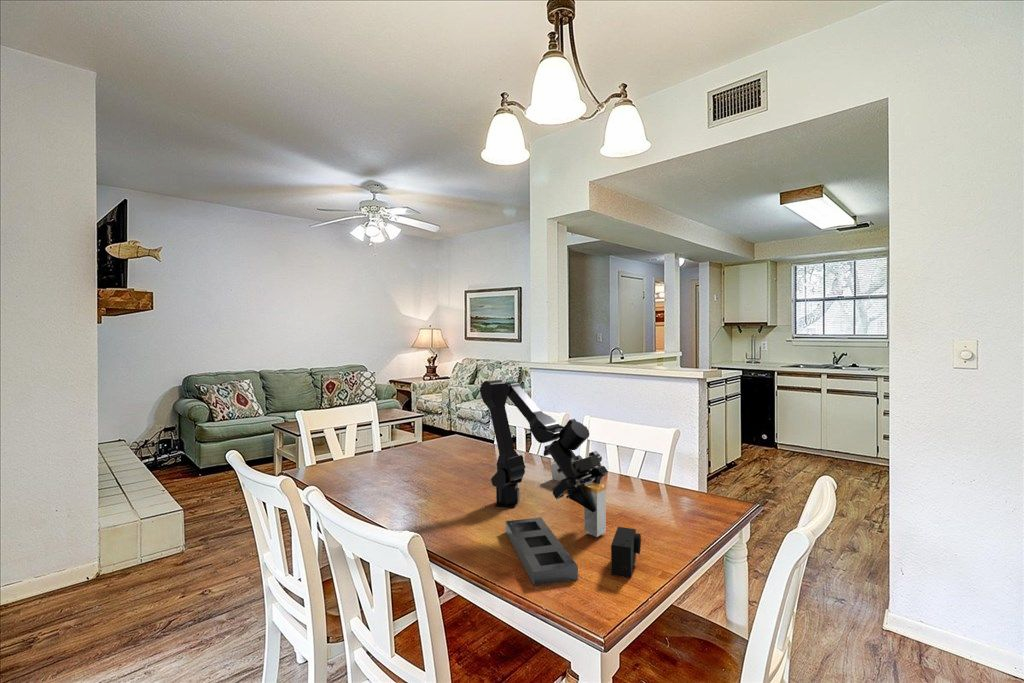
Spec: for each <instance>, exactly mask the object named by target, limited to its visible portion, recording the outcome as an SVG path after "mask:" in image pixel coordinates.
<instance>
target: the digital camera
mask: <svg viewBox="0 0 1024 683" xmlns="http://www.w3.org/2000/svg"><path fill="white" fill-rule="evenodd" d="M636 532H637V530H636V528H631V527H630V528H629V527H623V526H617V529H616V531H615V534H614V536H613V539H612V542H611V544H610V556H611V557H610V558H611V559H610V560H611V561H610V562H611V567H610V569H611V570H610V571H611V572H610V573H611V576H616V577H621V578H626V579H631V578H632V576H633V571H634V568H635V563H636V558H637V554H639V555H640V554H641V549H642V548H641V547H642V535H641V534H642V533H636Z"/></svg>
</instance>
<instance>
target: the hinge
mask: <svg viewBox="0 0 1024 683" xmlns="http://www.w3.org/2000/svg"><path fill="white" fill-rule="evenodd" d="M558 469H559V467H558V465H557V464H556V462H555V461H554V460H553V461H552V463H551V465H550V470H551V479H554V480H553V481H556V480H558V481H557V482H560V481H561V480H562V479H565V478H566V477H565V476H564V474H563V473H562V472H561V473H558V471H557V470H558ZM591 470H592V469H591ZM588 473H589V472H588ZM588 473H587V474H588Z"/></svg>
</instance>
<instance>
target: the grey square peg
mask: <svg viewBox="0 0 1024 683" xmlns="http://www.w3.org/2000/svg"><path fill="white" fill-rule="evenodd" d="M585 491H586V493H587V495H588V497H589V498H590V500H591V502H592V503H593V505H594V507H595V509H596V511H595V512H591V511H590V510H588V509H587V508H585V507H583V508H584V512H583V513H584V516H583V517H584V519H583V520H584V522H583V523H584V533H585V534H588V535H591V536H593V537H594V538H595V537H596V538H598V537H600V536H602V535H603V534H606V532H607V530H606V529H607V522H606V521H607V518H606V516H607V513H606V512H607V510H606V509H607V508H606V504H607V501H606V498H607V496H606V495H607V493H606V485H604V484H601V483H600V484H597V483H594V482H593V483H590V484H588V485H585Z"/></svg>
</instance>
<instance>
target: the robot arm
mask: <svg viewBox="0 0 1024 683" xmlns="http://www.w3.org/2000/svg"><path fill="white" fill-rule="evenodd" d="M479 392H480V395H481V399H482V401H483V404H484V405H485V406H487V408H488V409H489V412H490V417H491V422H492V426H493V432H494V436H495V441H496V445H497V450H498V457H497V461H496V472H495V474H494V475H493V476H492V477H491V478H490V481H491V485H492V486H493V487H495V489H496V490H495V491H496V492H495V493H496V494H495V496H496V498H495V499H496V502H495V503H494V506H495V507H502V508H503V507H505V508H516V506H517V505H518V504H519V502H520V499H521V498H520V488H519V487H518V486H519V484H521V483H522V481H523V477H524V475H525V473H526V469H525V468H526V465H525V462H524V457H523V454H518V453H517V451H516V450H515V446H514V441H513V438H512V437H513V436H512V432H511V428H510V424H509V419H508V414H507V410H506V404H507V400H508V398H509V400H510V401H511V403H513V405H514V406H515V407H516V409H517V410H518V411H519V412H520V413H521V415H522V416H523V417H524V418H525V419H526V421H527V422H528V424H529V431H530V432H531V434H532V436H533V438H534V439H535V441H537V442H538V443H540V444H545V443H550V442H551V443H550V444H547V445H545V446H543V447H544V450H543V453H542V454H543V456H544V457H546V456H551V458H552V459H553V462H554V461H555V462H556V464H557V465H558V467H559V469H558V470H557V471H558V473H561V472H562V473H563V474H564V476H565V477H566V478H565V479H562V480H561V481H558V483H556V485H554V486H553V488H552V496H553V497H554V498H555V500H558V499H561V498H564V496H565V493H566V492H567V495H566V496H565V497H566V499H567V500H568V499H569V500H571V501H574V502H575V503H577V504H579V505H581V506H582V507H583V508H584V507H585V508H587V509H588V510H590V511H591V512H595V511H596V509H595V507H594V505H593V503H592V502H591V500H590V498H589V497H588V495H587V493H586V491H585V485H588V484H590V483H593V482H594V483H597V484H601V480H602V479H603V478H604V477H605V476H606V475H607V474H608V473H609V471H608V469H607V468H606V467H605V465H602V464H601V462H602V460H603V457H602V456H601V454H600V453H599V452H598V451H597V450H594V451H590V452H589V453H588V457H585V458H583V457H582V455H580V454H579V455H576V454H575V453H574V451H576V450H578V449H579V447H581V445H583V443H585V441H587V439H589V437H590V430H589V429H588V427H587V426H585V425H584V424H583V423H582V422H579V421H577V420H576V419H575V418H571V419H569V420H568V421H567V422H566V424H565V425H564V426H563V425H561V424H560V423H559V422H558V421H556V420H555V419H554V418H553V417H552V416H550V415H548V414H546V413H544V412H543V411H542V410H541V409H540V408H539V407H538V406H537V404H536V403H535V402H534V401H533V400H532V398H531V397H530V396H529V395H528V393H526V391H525V390H524V389H523V387H522V386H521V384H520V382H518V381H516V380H515V381H507V382H506V381H503V380H502V379H496V380H495V379H494V380H487V381H483V382H482V383H481V384H480V387H479ZM591 469H592V470H591ZM588 472H589V473H588ZM587 473H588V474H587Z"/></svg>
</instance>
